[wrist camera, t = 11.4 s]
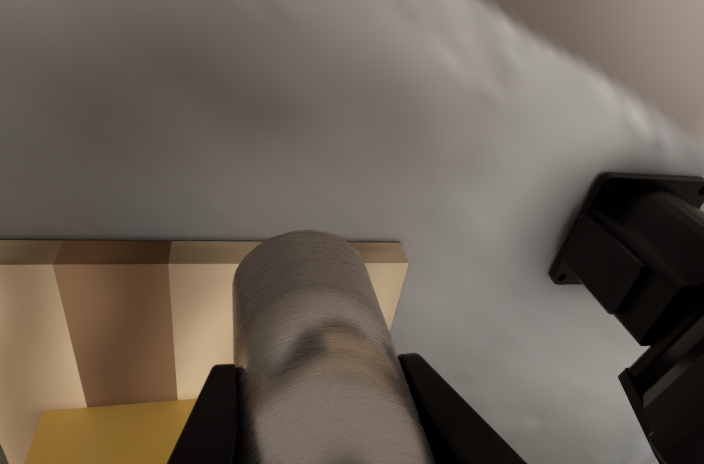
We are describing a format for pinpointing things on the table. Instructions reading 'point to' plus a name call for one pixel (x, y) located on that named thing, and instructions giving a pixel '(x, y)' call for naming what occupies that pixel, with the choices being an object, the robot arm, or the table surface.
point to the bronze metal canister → (317, 360)
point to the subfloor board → (125, 322)
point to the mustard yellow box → (110, 434)
